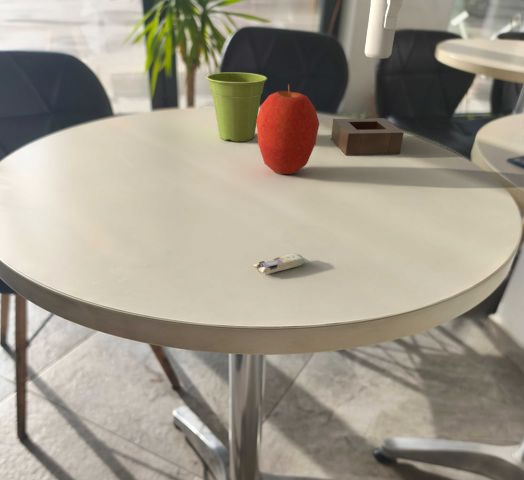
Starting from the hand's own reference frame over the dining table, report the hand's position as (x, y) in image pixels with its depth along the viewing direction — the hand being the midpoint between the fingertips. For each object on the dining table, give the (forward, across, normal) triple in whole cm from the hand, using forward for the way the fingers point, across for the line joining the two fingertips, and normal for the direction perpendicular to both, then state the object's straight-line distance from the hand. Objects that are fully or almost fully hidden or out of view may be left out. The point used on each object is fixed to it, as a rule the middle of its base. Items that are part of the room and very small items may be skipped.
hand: (382, 26), depth 87 cm
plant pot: (+21, +8, +25) cm, 33 cm away
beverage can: (+5, 0, 0) cm, 5 cm away
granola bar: (+20, -48, +26) cm, 58 cm away
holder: (+20, 0, 0) cm, 20 cm away
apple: (+21, -14, +19) cm, 31 cm away
